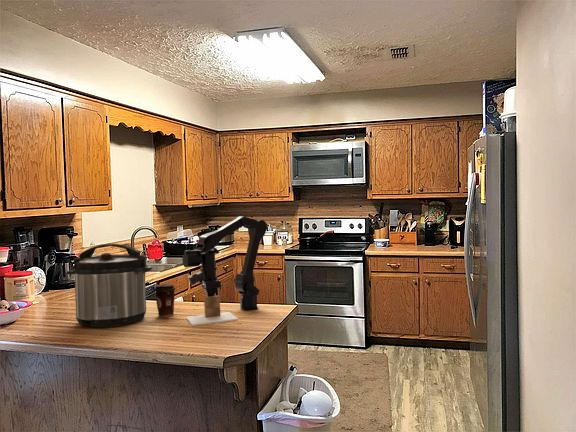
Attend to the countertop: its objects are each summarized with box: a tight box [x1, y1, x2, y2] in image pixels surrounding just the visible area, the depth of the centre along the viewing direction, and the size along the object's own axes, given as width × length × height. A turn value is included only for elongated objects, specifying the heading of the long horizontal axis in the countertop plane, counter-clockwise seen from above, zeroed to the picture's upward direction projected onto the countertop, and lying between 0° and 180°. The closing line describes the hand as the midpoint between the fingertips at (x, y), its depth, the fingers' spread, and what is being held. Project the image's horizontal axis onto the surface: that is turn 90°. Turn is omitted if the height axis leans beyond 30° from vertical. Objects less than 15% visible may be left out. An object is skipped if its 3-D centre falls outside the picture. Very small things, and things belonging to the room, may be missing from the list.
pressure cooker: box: [66, 243, 153, 328], centre depth 196 cm, size 30×28×32 cm
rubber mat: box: [185, 311, 239, 327], centre depth 192 cm, size 18×14×1 cm
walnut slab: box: [203, 295, 221, 318], centre depth 194 cm, size 6×2×8 cm, turn 111°
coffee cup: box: [153, 283, 176, 318], centre depth 202 cm, size 9×8×13 cm
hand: (210, 302), depth 198 cm, fingers closed
